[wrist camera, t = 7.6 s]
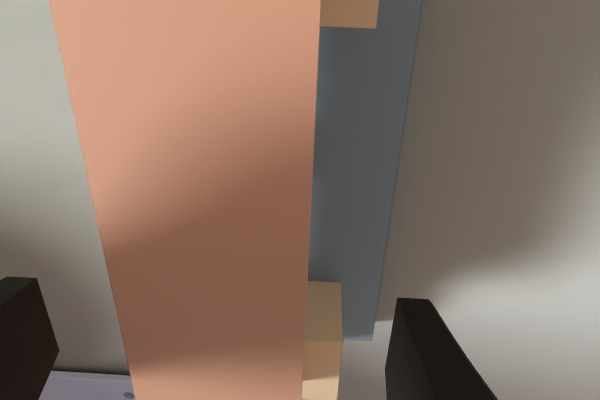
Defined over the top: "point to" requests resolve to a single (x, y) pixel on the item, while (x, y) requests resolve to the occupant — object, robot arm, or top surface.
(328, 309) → the stand
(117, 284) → the terracotta bar
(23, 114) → the top surface
